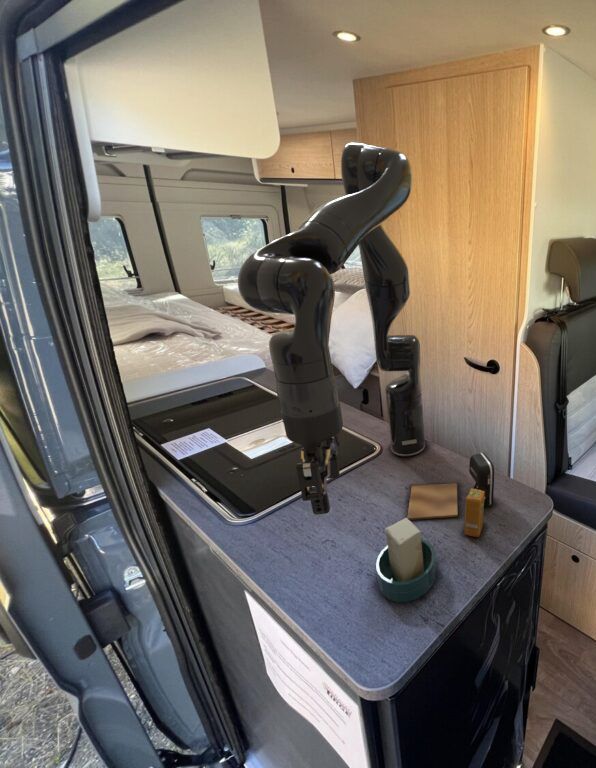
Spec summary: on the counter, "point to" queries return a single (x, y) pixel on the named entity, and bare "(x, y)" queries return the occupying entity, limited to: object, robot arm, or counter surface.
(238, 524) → the counter surface
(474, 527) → the supplement box
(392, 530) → the box
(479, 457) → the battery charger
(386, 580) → the pot
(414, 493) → the plate
